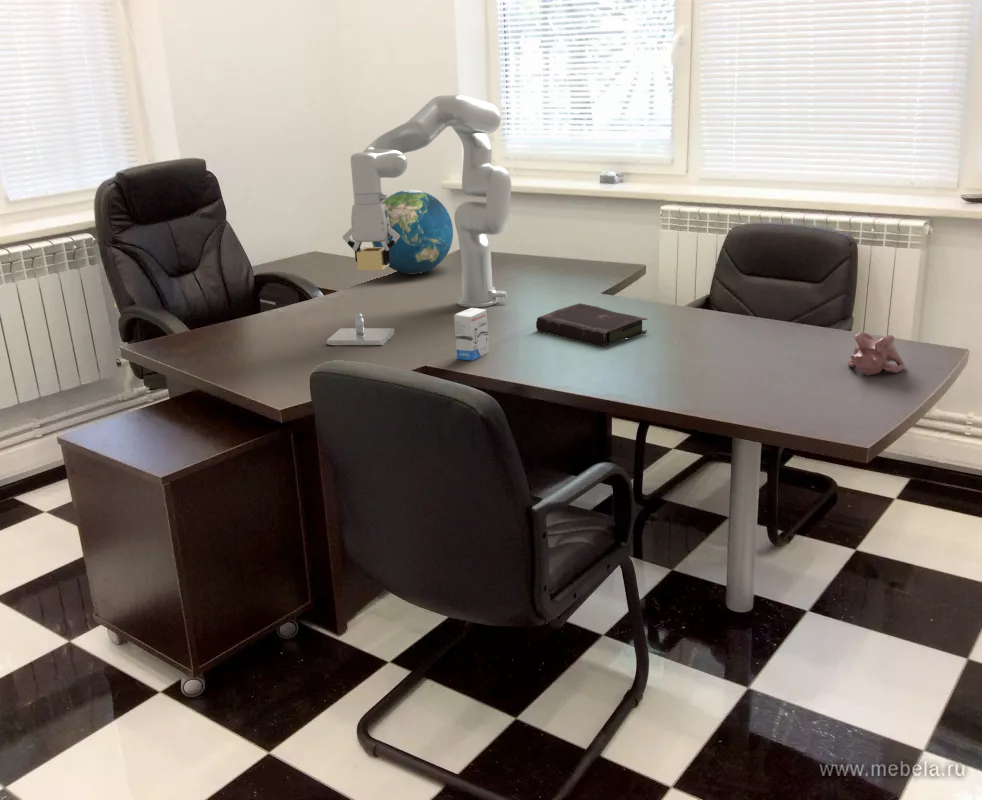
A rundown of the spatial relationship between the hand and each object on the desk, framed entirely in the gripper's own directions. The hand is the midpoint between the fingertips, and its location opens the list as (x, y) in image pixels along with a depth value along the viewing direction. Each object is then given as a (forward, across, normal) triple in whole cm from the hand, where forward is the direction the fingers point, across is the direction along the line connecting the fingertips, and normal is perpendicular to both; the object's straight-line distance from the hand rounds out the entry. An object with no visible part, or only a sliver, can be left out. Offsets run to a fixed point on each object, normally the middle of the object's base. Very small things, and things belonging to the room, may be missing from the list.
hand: (373, 263), depth 259 cm
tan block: (+1, 0, 0) cm, 1 cm away
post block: (+21, +4, +4) cm, 21 cm away
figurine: (+20, -127, +31) cm, 132 cm away
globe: (+20, +10, -81) cm, 84 cm away
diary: (+21, -60, -2) cm, 64 cm away
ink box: (+21, -31, +19) cm, 42 cm away
